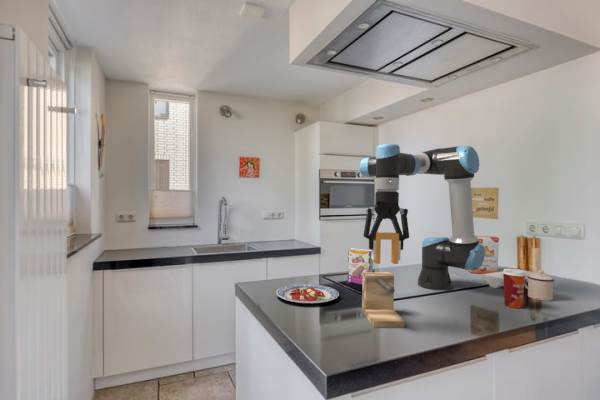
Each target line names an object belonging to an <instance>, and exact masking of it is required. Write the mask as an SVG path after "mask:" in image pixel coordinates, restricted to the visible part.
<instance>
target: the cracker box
mask: <svg viewBox="0 0 600 400" xmlns="http://www.w3.org/2000/svg"><path fill="white" fill-rule="evenodd" d="M475 236H476V237H477V238H478V240H479V244H481V245H483V246H484V248H485V257H484V261H483V263H482V265H481V267H480V268H479V269H477V270H467V271H468V272H469V273H471V274H481V275H482V274H488V273H495V272H499V271H498V269H499V250H500V249H499V245H500V243H499V242H500V240H499V239H500V238H499V237H498V236H495V235H494V236H491V235H490V236H489V235H475Z"/></svg>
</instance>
